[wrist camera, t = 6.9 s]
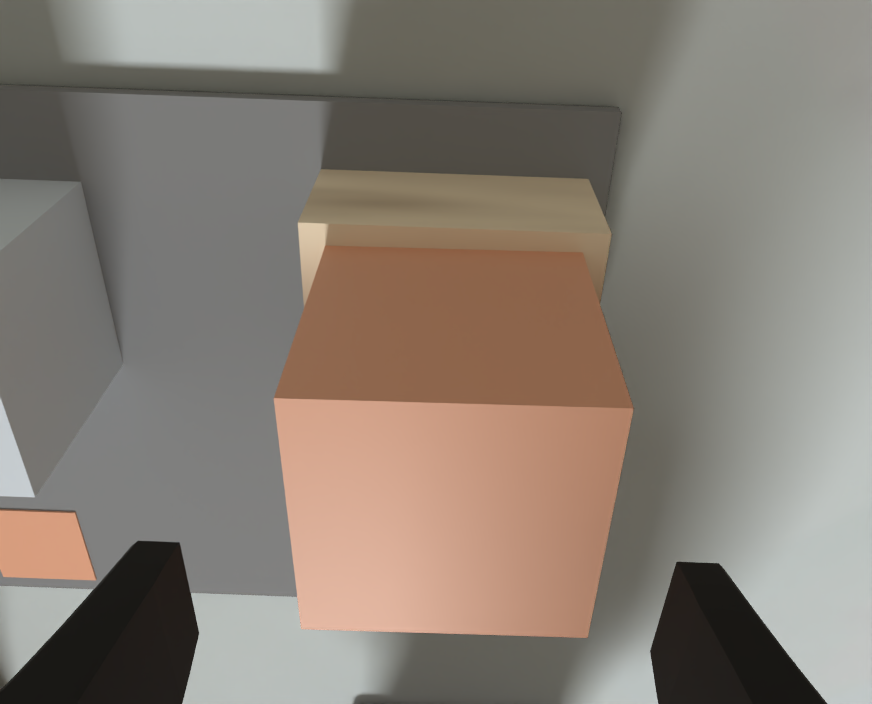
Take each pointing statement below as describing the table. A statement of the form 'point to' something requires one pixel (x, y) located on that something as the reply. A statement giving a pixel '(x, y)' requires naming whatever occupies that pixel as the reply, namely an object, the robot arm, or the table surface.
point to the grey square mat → (221, 299)
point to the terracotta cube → (451, 442)
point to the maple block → (452, 215)
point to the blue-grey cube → (48, 328)
